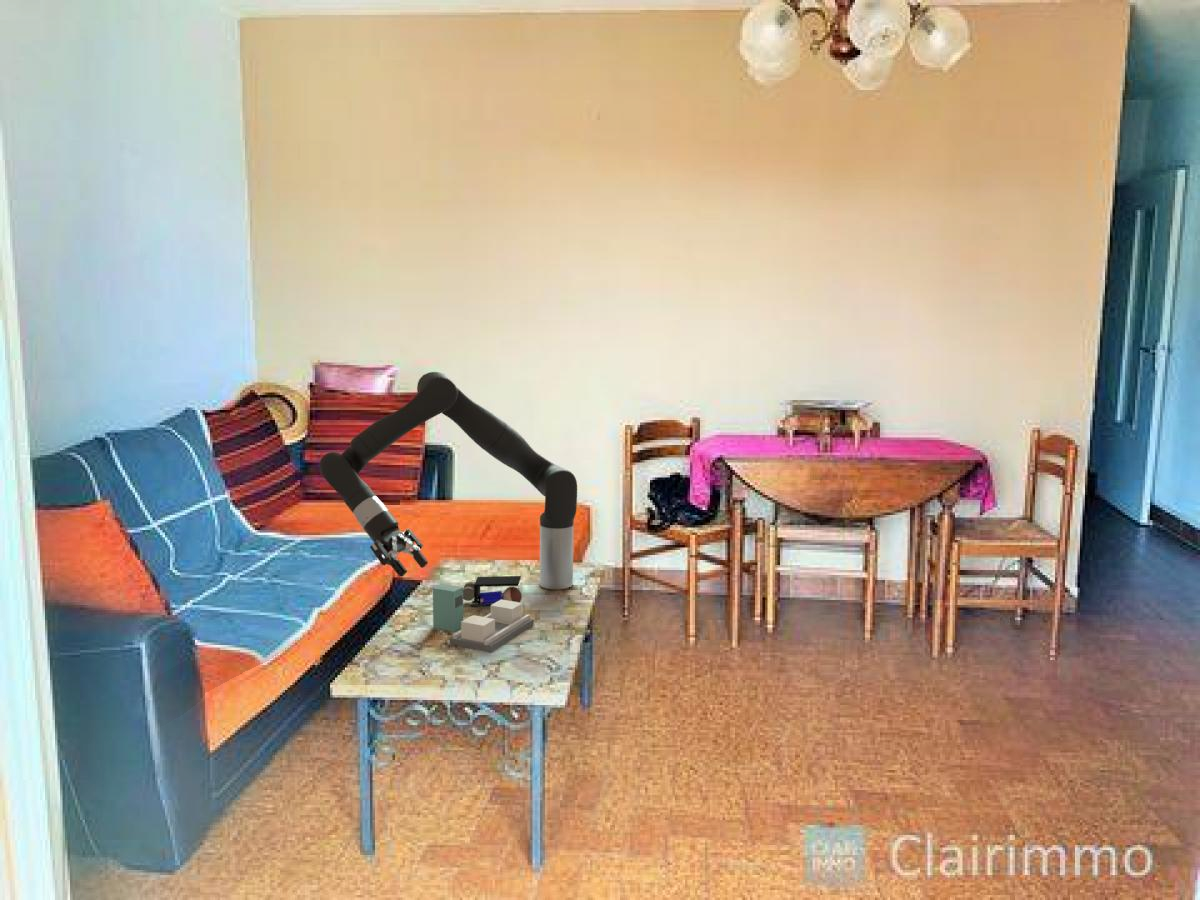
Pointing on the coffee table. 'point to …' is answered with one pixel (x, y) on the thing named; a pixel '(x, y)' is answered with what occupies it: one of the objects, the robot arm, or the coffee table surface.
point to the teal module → (447, 607)
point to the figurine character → (510, 594)
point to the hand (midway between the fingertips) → (414, 569)
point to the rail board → (495, 635)
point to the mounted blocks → (491, 620)
